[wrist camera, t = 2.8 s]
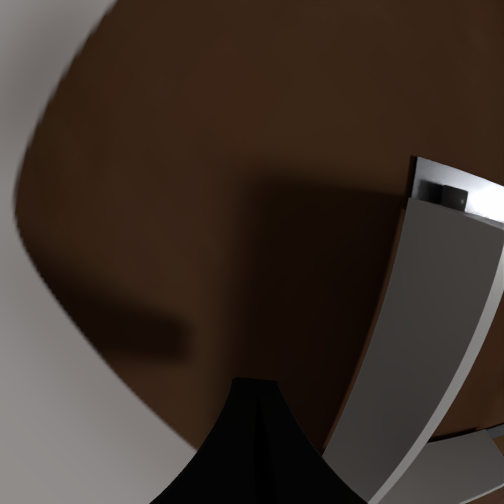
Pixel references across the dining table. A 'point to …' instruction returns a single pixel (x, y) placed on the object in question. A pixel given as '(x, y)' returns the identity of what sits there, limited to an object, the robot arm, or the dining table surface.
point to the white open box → (425, 364)
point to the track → (478, 202)
